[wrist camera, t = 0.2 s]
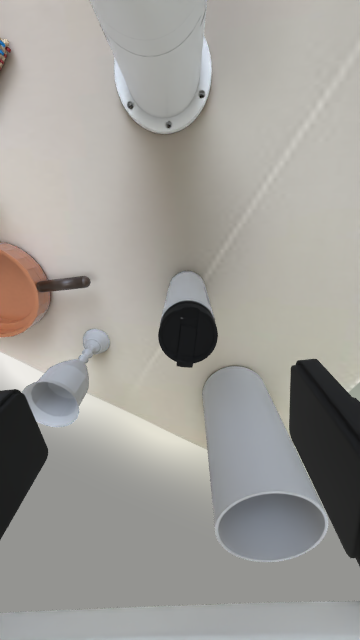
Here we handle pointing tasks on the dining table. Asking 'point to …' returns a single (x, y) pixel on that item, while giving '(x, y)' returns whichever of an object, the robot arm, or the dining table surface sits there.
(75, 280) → the pan handle
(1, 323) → the pan
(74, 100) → the dining table surface
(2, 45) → the woven mat
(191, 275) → the travel mug
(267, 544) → the cylinder vase
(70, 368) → the chalice
